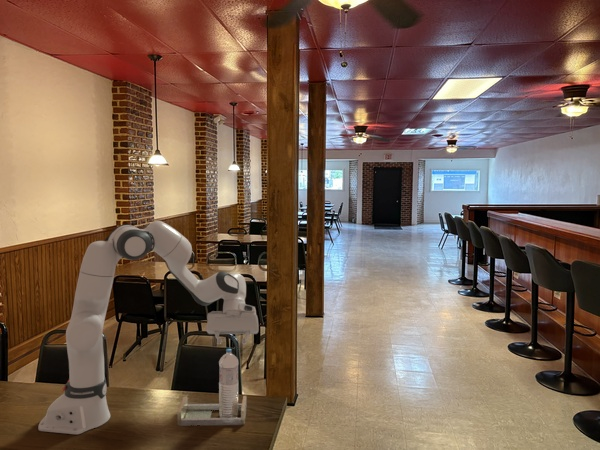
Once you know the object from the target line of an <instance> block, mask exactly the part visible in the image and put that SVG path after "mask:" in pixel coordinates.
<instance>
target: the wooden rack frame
mask: <svg viewBox="0 0 600 450" xmlns="http://www.w3.org/2000/svg"><path fill="white" fill-rule="evenodd" d="M241 401H242V402H241V403H238V411H240V417H237V418H220V417H212V412H213V410H214V411H215V410H219V403H188V396H187V395H186V396H183V398H182V400H181V402H180V405H179V407H178V409H177V412H176V413H177V414H176V415H177V426H178V427H185V426H186V427H189V426H190V427H191V425H192V426H193V425H194V426H197V425H200V426H244V425H245V424H246V423H245V422H246V414H247V395H243V396H242V400H241ZM211 410H212V411H211ZM194 426H193V427H194ZM197 427H198V426H197Z"/></svg>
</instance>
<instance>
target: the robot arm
mask: <svg viewBox="0 0 600 450" xmlns="http://www.w3.org/2000/svg"><path fill="white" fill-rule="evenodd" d="M152 251H153V252H155V253H156V254H157V255H158V256H159V257H161V258H162V259H163V260H164V261H165V262H166V266H167V269H168V271H169V272H170V274H171V275H172V276H173V277H174V279H176V280H177V281H178V282H179V284H181V285H182V286H183V287H184V288H185V290H187V291H188V293H189V294H190V296H192V298H193V299H194V301H195V302H196V303H197V304H198V305H201V306H204V307H207V306H210V305H211V304H213V303H214V302H216V301H217V300H220V299H223V305H222V310H216V311H215V310H212V311H210V312H208V313H207V315H206V320H207V323H206V327H205V330H206V333H207V334H208V335H214V336H215V338H216V344H217V345H222V337H219V336H220V335H245V337H242V339H241V344H242V345H247V340H248V339H249V338H250V335H257V334H258V333H259V330H260V329H259V318H258V315H257V310H256V306H253V305H250V304H246V298H247V283H246V279H245V277H244V276H243V275H242V274H240V273H237V272H234V273H233V272H232V273H228V272H226V271H217V272H216V273H214V274H212V275H211V276H209V277H207V278H204V279H198V278H197V277H196V276H195V274H194V273H192V272H191V270H189V268H188V267H187V264H188V263H189V261H190V259H191V256H192V253H193V248H192V243H191V242H190V241H189V240H188V238H186V237H185V236H184V235H183V234H182V233H181V232H179V231H178V230H177V229H176V228H174V227H172V226H171V225H169V224H168V223H165V222H164V221H162V220H155V221H152V222H150V223H149V224H148V225H147V226H146V227H145V228H138V227H137V226H134V225H132V224H129V223H125V224H120V225H118V226H116V227H114V229H113V230H112V231H111V232H110V234H108V236H107V237H106V238H105V239H104V240H97V241H93V242H91V243H90V244H88V246H87V248H86V251H85V253H84V255H83V258H82V260H81V261H82V262H81V264H80V269H79V273H78V279H77V284H76V289H75V293H74V300H73V304H72V305H73V307H72V312H71V315H70V316H71V317H70V320H69V321H68V324H67V328H66V330H65V342H66V350H67V359H68V370H69V371H68V374H69V378H68V380H67V382H66V383H65V384H64V387H62V389H61V391H62V392H61V393H62V394H61V395H60V396H59V397H57V398H56V399H55V400H54V401H53V402H52V403H51V404H50V405H49V406H48V409H47V410H46V415H45V416H44V417H43V418H42V419H41V420H40V422H39V424H38V428H37V429H38V431H39V432H49V433H58V434H59V433H60V434H69V435H80V434H83V433H85V432H87V431H90V430H93V429H94V428H95V429H96V428H98V427H101V426H103V425H104V424H106V423H107V422H108V421H109V420H110V419H111V412H110V411H109V406H108V402H107V396H106V395H107V379H106V377H105V356H104V355H105V354H104V341H103V332H104V325H105V319H106V315H107V311H108V307H109V303H110V297H111V292H112V288H113V284H114V279H115V274H116V267H117V265H118V263H119V261H121V259H123V258H124V259H125V260H130V261H136V260H140V259H142V258H143V257H145V256H146V255H147V254H149V253H150V252H152ZM63 392H64V393H63Z"/></svg>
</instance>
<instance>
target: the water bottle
mask: <svg viewBox="0 0 600 450" xmlns="http://www.w3.org/2000/svg"><path fill="white" fill-rule="evenodd" d="M225 351H226V353H224V354H223V355H222V356H221V357H220V359H219V361H218V365H219V370H218V371H219V378H218V379H219V380H218V381H219V382H218V389H219V390H218V402H219V403H218V404H219V411H218V416H219V418H238V415H239V410H238V404H239V359H238V357H237V356H236V355H235V354H233V352H232V349H231V348H226V350H225Z"/></svg>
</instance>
